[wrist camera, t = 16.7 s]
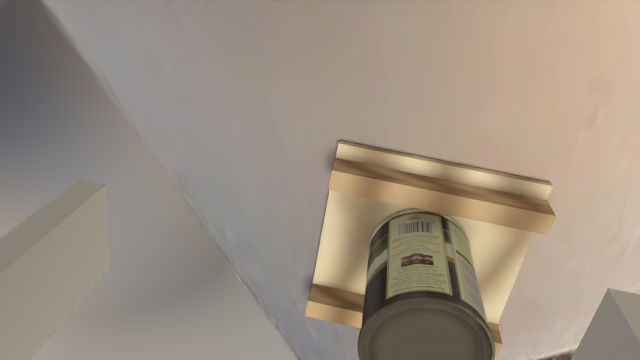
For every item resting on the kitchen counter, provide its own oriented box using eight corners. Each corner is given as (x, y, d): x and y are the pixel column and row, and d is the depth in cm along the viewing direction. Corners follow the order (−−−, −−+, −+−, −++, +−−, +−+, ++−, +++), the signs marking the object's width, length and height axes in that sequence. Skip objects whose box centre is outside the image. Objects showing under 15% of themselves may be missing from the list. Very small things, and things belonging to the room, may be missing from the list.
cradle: (309, 303, 57) (303, 326, 54) (339, 140, 48) (334, 155, 45) (486, 343, 56) (491, 369, 52) (550, 182, 47) (562, 201, 44)
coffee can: (402, 307, 54) (402, 418, 42) (348, 236, 52) (331, 331, 39) (491, 268, 51) (520, 376, 38) (438, 189, 48) (451, 277, 35)
